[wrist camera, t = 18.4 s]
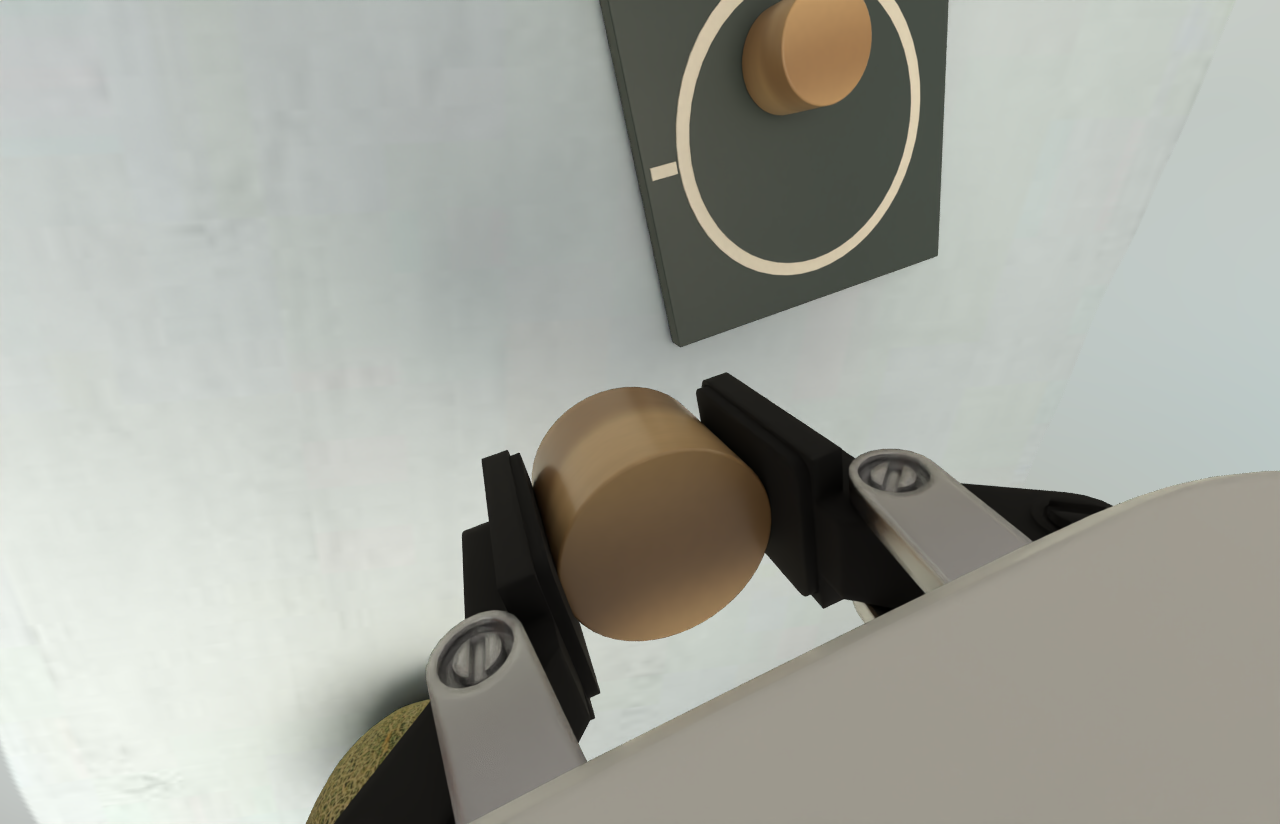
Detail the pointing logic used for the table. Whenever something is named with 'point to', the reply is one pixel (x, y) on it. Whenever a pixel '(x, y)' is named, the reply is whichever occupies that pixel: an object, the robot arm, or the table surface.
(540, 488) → the tan cork stopper
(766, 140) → the slate board
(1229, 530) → the robot arm
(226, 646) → the table surface
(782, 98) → the tan cork puck
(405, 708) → the fruit
